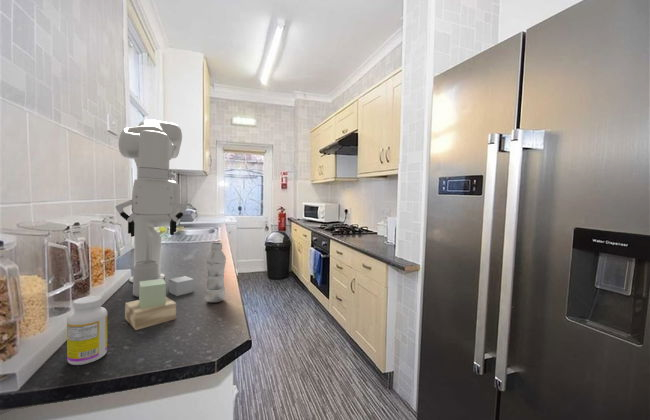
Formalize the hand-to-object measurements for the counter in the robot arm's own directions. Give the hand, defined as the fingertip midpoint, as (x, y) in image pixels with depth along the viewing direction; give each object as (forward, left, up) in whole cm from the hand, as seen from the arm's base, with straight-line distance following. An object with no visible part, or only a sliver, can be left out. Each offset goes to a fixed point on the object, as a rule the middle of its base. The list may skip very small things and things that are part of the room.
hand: (152, 235), depth 80 cm
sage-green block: (0, 0, -20) cm, 20 cm away
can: (-23, 0, -24) cm, 34 cm away
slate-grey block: (-20, +11, -24) cm, 34 cm away
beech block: (0, 0, -25) cm, 25 cm away
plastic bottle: (-4, +19, -24) cm, 31 cm away
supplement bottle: (+16, -13, -24) cm, 32 cm away
